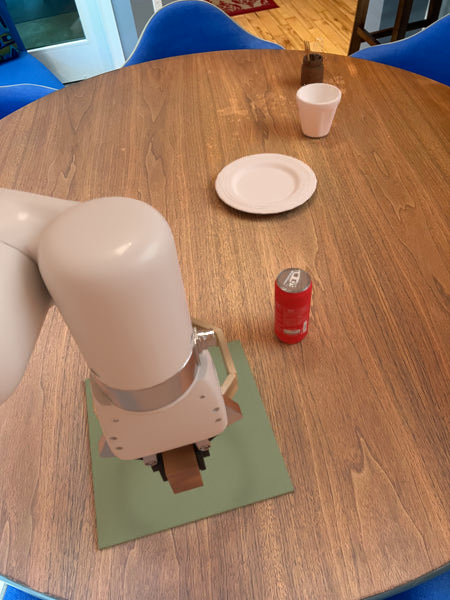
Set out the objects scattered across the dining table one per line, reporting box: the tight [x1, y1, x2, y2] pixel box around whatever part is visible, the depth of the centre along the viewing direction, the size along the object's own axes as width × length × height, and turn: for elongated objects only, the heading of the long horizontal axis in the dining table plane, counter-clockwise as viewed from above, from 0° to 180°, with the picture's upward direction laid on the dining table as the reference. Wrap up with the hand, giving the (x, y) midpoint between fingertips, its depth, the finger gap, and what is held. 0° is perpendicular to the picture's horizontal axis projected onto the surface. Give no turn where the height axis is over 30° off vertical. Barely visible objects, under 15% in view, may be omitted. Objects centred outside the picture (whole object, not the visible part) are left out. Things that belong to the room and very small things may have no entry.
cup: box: [295, 82, 342, 139], centre depth 109 cm, size 10×10×9 cm
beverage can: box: [273, 267, 313, 345], centre depth 70 cm, size 5×5×12 cm
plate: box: [214, 152, 318, 216], centre depth 99 cm, size 21×21×2 cm
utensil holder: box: [300, 37, 325, 87], centre depth 124 cm, size 6×6×12 cm
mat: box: [84, 338, 295, 551], centre depth 65 cm, size 24×24×1 cm
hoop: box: [92, 315, 238, 494], centre depth 52 cm, size 16×21×5 cm
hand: (182, 461), depth 48 cm, fingers closed on hoop, 3 cm apart
